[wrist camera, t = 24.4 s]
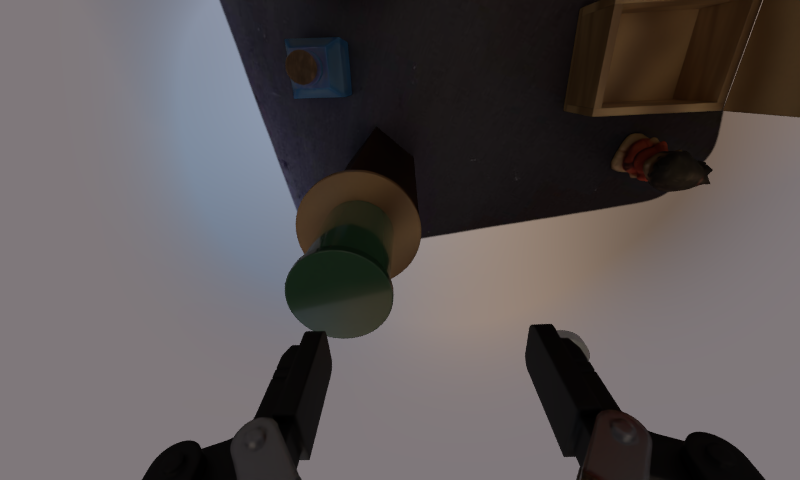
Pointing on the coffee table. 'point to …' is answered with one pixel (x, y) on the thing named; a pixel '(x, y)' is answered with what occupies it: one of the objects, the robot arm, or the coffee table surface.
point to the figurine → (659, 164)
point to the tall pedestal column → (370, 196)
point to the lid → (770, 64)
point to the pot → (345, 273)
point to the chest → (656, 55)
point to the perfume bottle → (318, 67)
